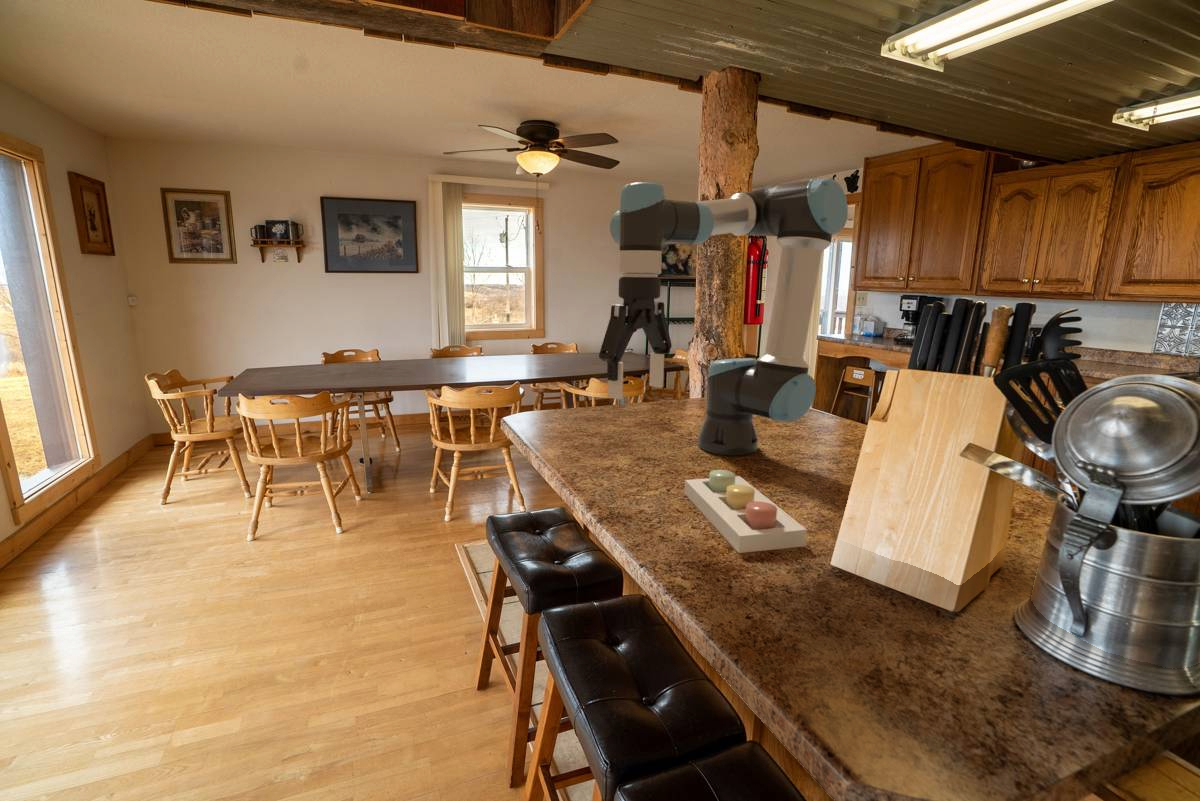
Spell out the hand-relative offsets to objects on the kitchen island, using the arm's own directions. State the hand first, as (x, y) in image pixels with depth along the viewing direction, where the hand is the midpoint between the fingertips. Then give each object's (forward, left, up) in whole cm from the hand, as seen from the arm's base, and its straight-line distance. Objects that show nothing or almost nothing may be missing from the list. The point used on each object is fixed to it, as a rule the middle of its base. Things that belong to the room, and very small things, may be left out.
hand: (636, 392), depth 104 cm
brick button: (-17, +18, -20) cm, 32 cm away
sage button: (-17, +2, -20) cm, 26 cm away
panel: (-17, +10, -22) cm, 30 cm away
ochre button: (-17, +10, -20) cm, 28 cm away
